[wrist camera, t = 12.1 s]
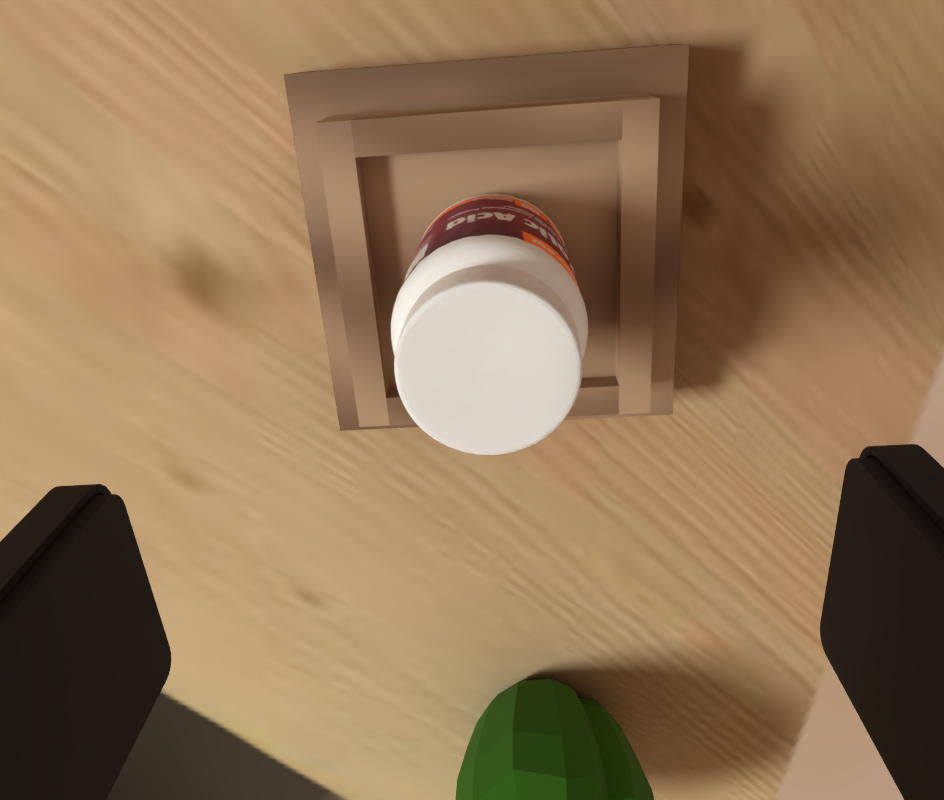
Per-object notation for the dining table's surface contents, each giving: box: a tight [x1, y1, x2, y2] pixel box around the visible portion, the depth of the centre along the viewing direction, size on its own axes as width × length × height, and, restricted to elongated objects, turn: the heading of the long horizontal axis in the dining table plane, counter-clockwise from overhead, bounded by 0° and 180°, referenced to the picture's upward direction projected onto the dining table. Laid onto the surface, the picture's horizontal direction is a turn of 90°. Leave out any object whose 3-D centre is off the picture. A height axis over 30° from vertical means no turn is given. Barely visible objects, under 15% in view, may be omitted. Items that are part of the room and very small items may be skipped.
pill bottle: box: [391, 194, 588, 455], centre depth 20 cm, size 5×5×8 cm
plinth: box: [284, 44, 689, 431], centre depth 25 cm, size 12×12×4 cm
